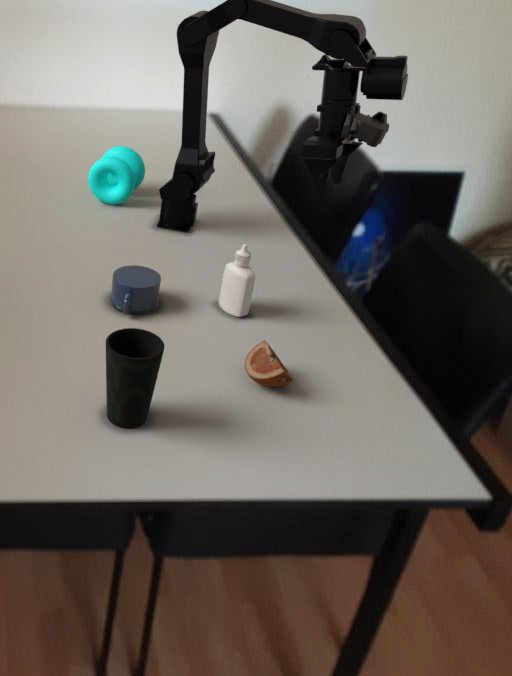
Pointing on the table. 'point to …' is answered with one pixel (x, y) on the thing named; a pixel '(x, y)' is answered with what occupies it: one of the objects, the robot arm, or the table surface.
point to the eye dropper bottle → (237, 284)
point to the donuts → (116, 175)
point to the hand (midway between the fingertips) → (328, 189)
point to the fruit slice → (266, 366)
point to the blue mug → (135, 290)
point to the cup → (131, 375)
